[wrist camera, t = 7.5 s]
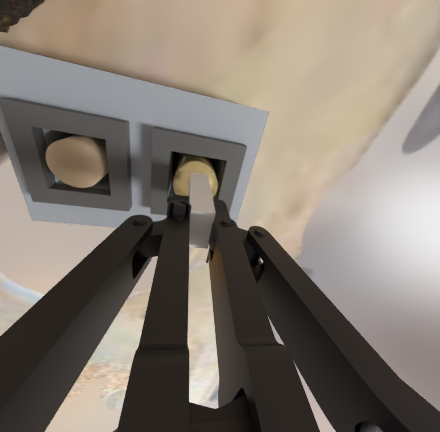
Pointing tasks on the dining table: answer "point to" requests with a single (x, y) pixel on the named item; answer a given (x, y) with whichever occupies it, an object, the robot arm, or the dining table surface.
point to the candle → (15, 11)
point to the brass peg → (193, 164)
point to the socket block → (117, 139)
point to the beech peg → (78, 160)
